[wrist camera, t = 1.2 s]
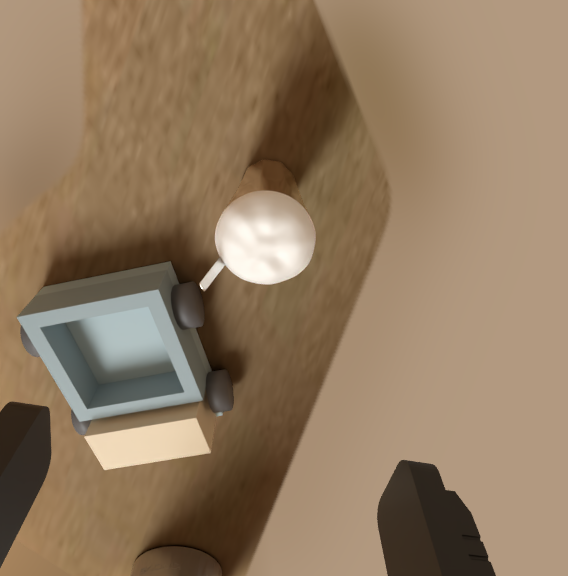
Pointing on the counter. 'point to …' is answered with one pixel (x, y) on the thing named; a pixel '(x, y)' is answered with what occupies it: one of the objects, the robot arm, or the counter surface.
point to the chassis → (130, 363)
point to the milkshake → (264, 228)
